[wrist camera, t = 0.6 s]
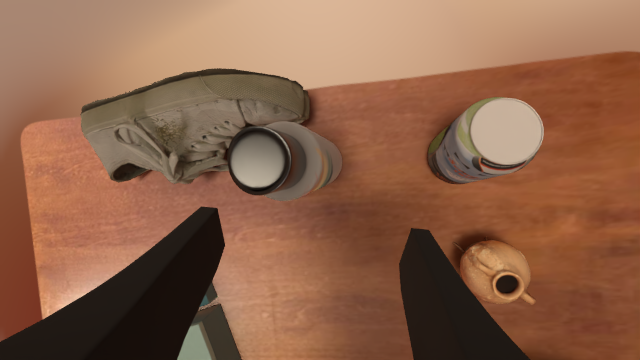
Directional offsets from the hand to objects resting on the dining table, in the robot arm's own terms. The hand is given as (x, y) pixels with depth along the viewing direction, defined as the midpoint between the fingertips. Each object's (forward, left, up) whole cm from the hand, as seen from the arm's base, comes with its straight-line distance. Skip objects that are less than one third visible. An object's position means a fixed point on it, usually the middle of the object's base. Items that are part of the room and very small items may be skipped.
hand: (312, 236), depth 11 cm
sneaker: (+17, +13, -19) cm, 28 cm away
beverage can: (0, -12, -24) cm, 27 cm away
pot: (-12, -10, -24) cm, 29 cm away
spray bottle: (+4, +3, -24) cm, 25 cm away
